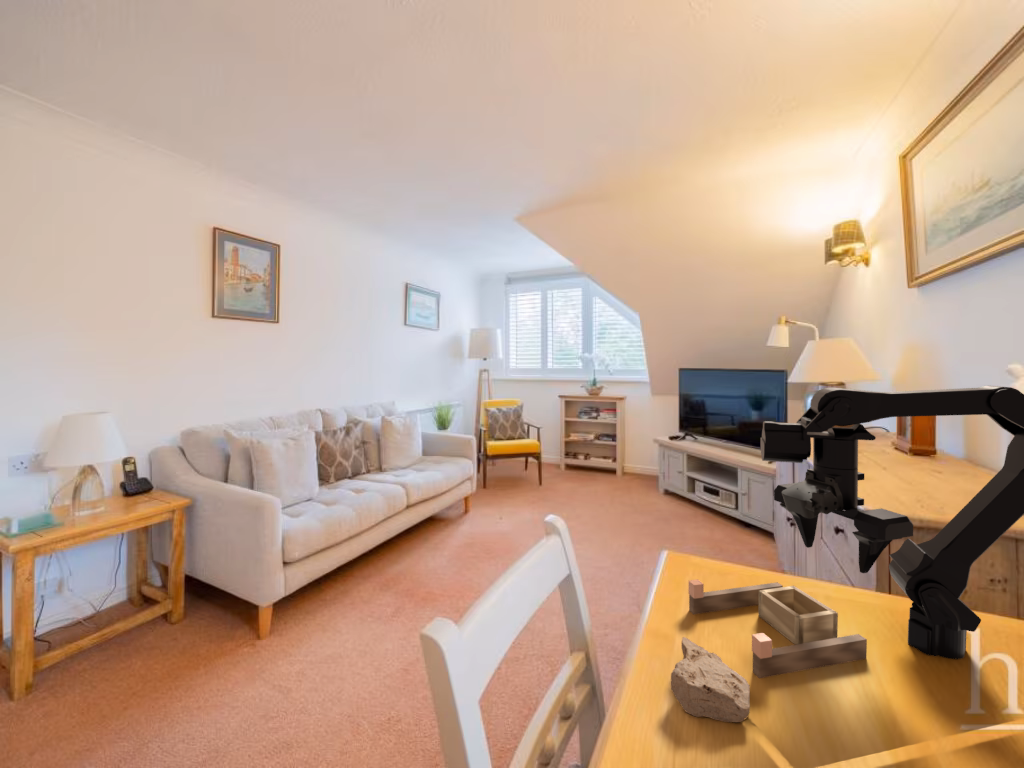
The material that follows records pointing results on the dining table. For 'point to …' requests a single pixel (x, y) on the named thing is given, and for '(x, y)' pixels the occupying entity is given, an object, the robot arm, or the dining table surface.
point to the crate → (797, 615)
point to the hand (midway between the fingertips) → (834, 559)
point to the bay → (787, 652)
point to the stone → (709, 686)
